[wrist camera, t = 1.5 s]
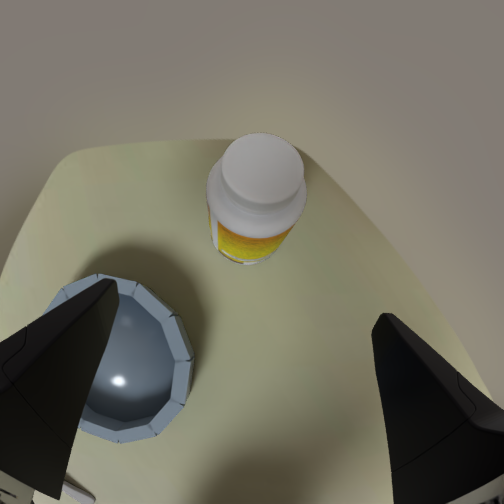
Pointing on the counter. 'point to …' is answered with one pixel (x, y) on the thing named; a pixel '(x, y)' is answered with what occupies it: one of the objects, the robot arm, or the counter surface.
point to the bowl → (136, 365)
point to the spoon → (77, 494)
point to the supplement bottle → (255, 197)
